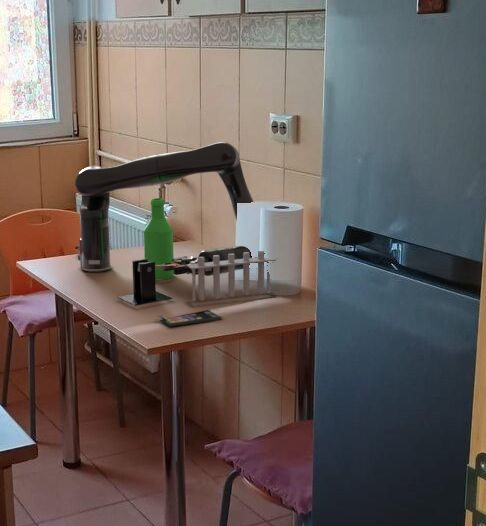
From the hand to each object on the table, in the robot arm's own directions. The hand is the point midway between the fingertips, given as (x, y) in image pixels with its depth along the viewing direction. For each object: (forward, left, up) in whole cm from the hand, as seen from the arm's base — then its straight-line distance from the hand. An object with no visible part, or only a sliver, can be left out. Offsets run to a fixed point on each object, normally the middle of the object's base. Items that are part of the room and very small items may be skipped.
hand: (169, 269), depth 263 cm
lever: (-1, -3, 0) cm, 3 cm away
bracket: (-1, -8, -8) cm, 12 cm away
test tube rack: (+15, +10, -8) cm, 20 cm away
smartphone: (+20, -11, -8) cm, 24 cm away
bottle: (-16, +11, -8) cm, 21 cm away
